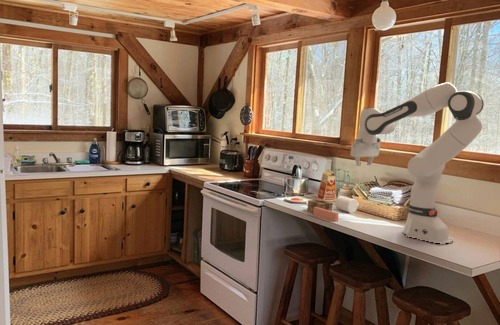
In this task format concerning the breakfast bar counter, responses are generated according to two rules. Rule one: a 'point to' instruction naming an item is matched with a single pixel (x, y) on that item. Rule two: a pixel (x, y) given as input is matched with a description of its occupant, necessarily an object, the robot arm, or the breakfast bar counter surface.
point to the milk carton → (327, 186)
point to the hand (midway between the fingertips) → (363, 165)
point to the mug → (346, 204)
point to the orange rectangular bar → (325, 214)
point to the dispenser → (319, 205)
